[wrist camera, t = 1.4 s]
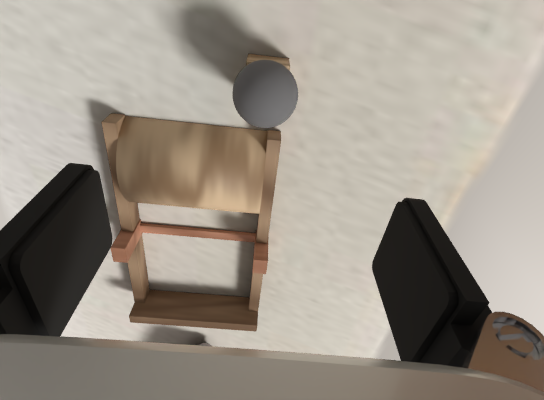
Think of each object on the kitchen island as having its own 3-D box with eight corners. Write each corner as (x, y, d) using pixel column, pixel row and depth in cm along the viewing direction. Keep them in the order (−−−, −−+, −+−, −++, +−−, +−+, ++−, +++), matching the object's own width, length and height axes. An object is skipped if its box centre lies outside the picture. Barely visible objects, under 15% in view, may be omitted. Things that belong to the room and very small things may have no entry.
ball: (237, 49, 21) (230, 64, 18) (300, 57, 21) (305, 73, 18) (234, 111, 23) (227, 134, 20) (291, 117, 24) (294, 141, 20)
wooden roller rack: (132, 93, 30) (86, 134, 22) (281, 109, 31) (282, 154, 23) (153, 262, 42) (127, 326, 34) (260, 271, 42) (257, 335, 35)
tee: (248, 53, 23) (246, 61, 21) (288, 58, 23) (290, 66, 22) (245, 94, 25) (243, 104, 23) (283, 98, 25) (284, 109, 23)
